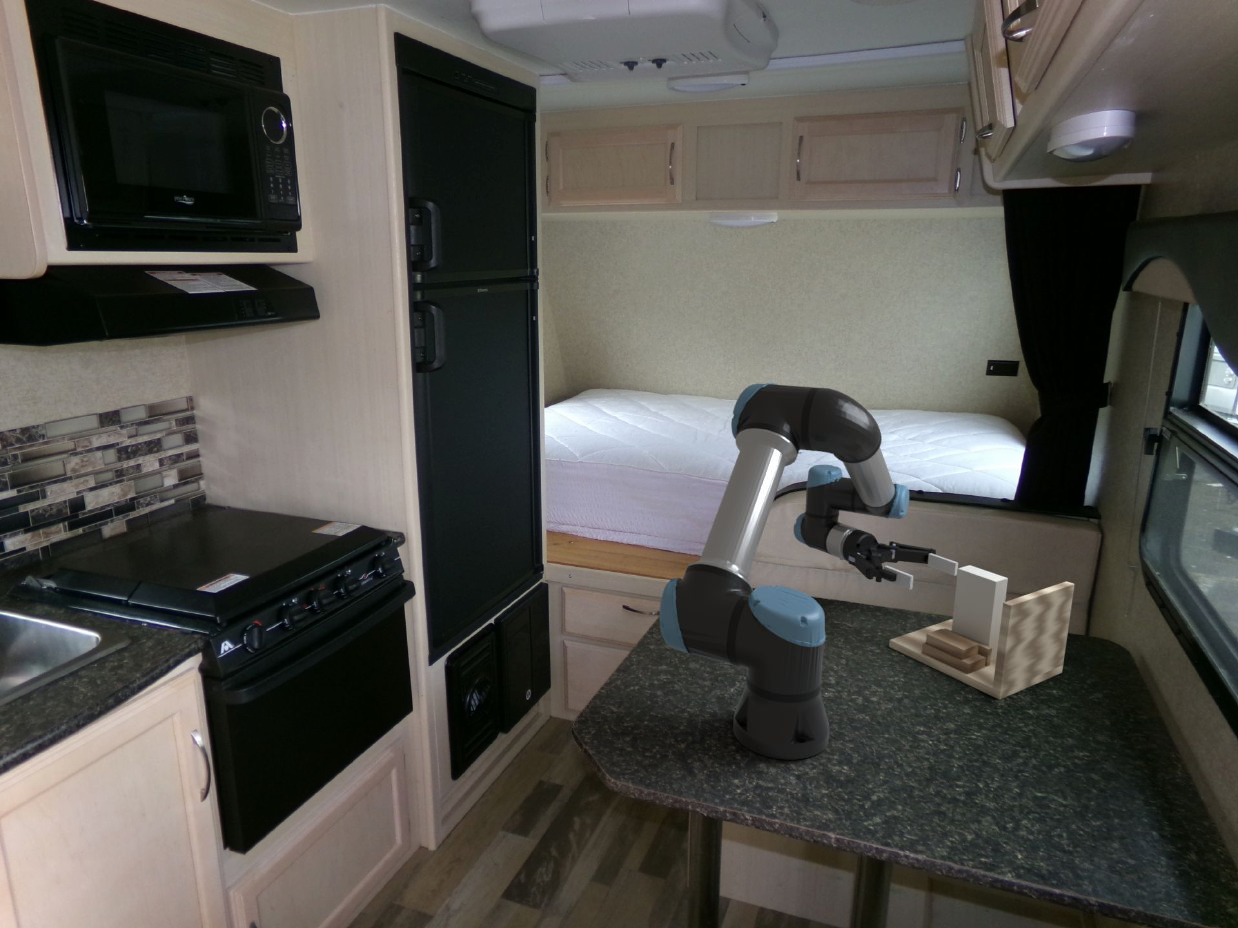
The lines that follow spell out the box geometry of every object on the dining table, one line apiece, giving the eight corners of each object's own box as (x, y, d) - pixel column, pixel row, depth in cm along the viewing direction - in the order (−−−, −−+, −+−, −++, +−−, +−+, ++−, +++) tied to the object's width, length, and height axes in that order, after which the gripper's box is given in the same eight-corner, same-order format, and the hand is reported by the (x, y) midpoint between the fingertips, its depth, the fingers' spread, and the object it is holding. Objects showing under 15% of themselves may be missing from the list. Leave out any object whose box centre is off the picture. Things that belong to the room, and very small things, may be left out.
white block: (986, 662, 153) (996, 581, 150) (949, 646, 160) (958, 568, 156) (998, 657, 155) (1008, 578, 151) (961, 641, 162) (969, 565, 158)
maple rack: (999, 699, 143) (1011, 605, 139) (889, 646, 163) (896, 563, 159) (1061, 672, 153) (1074, 583, 149) (950, 625, 173) (959, 546, 169)
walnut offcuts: (967, 674, 149) (969, 653, 148) (921, 652, 157) (923, 633, 156) (984, 667, 151) (987, 647, 151) (938, 646, 160) (940, 627, 159)
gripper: (890, 551, 188) (972, 580, 171) (810, 572, 175) (890, 606, 158) (892, 519, 186) (975, 546, 169) (812, 538, 174) (893, 570, 156)
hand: (934, 575), depth 163 cm, fingers open, 13 cm apart
